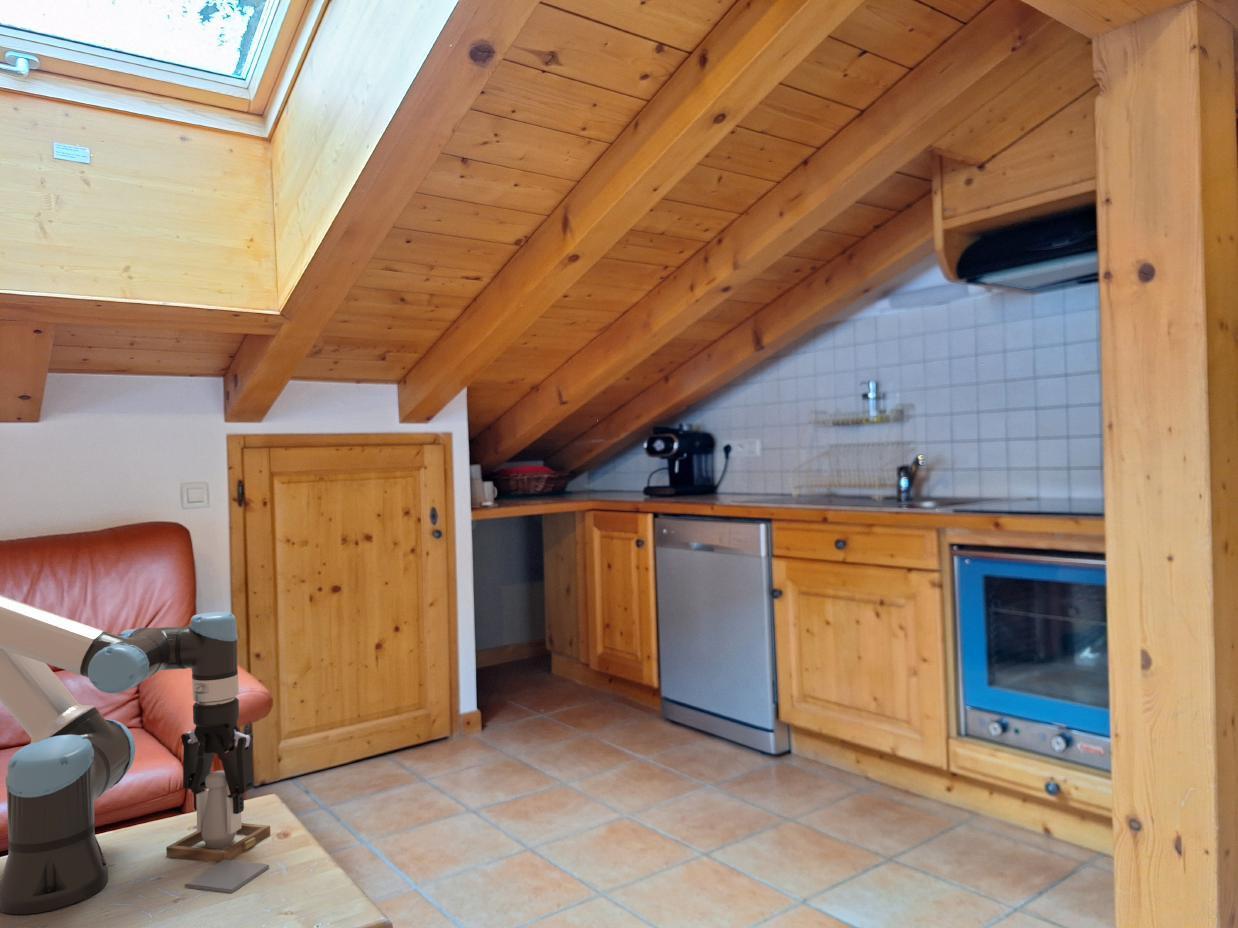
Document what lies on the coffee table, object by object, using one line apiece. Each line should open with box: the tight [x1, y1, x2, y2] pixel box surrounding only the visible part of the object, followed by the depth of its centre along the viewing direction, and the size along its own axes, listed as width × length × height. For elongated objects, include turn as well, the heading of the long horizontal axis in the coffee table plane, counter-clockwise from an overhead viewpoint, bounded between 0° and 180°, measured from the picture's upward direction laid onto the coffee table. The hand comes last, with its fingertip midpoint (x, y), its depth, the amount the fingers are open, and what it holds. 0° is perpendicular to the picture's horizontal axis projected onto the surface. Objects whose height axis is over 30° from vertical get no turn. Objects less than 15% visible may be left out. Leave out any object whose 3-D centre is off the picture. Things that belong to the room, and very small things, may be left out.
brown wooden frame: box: [165, 822, 271, 863], centre depth 158 cm, size 13×12×2 cm
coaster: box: [184, 859, 270, 894], centre depth 145 cm, size 9×9×1 cm
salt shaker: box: [202, 769, 237, 850], centre depth 158 cm, size 6×6×13 cm
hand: (219, 828), depth 158 cm, fingers closed on salt shaker, 6 cm apart
